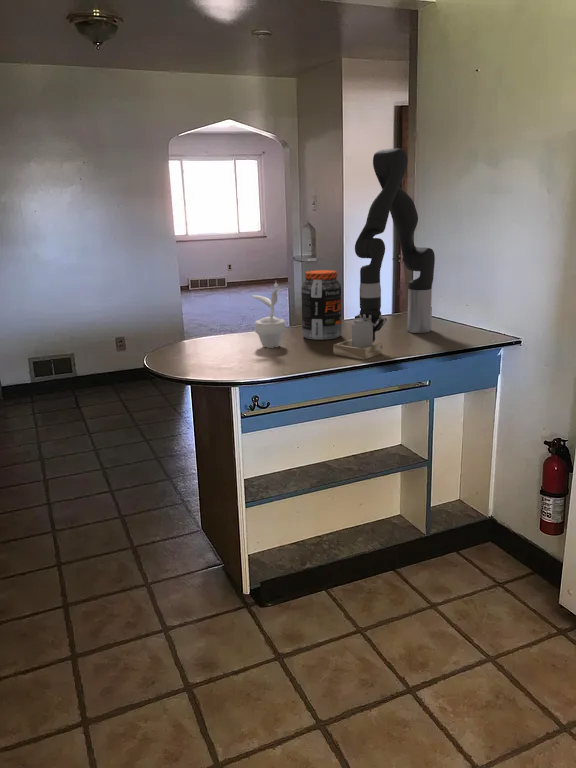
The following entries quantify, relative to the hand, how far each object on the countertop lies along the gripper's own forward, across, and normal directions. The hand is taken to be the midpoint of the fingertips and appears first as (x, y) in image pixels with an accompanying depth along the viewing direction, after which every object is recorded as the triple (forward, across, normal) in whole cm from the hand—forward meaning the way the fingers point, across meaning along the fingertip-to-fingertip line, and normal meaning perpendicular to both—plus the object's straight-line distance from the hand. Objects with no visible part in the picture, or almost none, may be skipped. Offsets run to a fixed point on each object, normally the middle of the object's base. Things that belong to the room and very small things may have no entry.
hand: (370, 342), depth 230 cm
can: (+3, 0, +5) cm, 6 cm away
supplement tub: (+3, +28, -6) cm, 29 cm away
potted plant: (+2, +34, +18) cm, 38 cm away
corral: (+2, 0, +8) cm, 8 cm away
